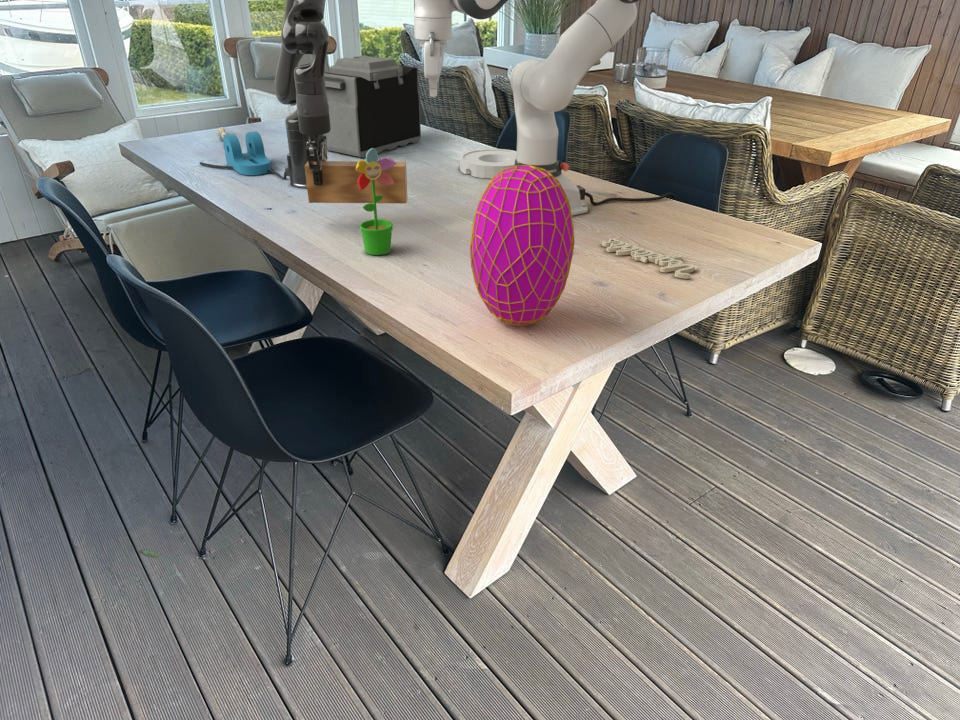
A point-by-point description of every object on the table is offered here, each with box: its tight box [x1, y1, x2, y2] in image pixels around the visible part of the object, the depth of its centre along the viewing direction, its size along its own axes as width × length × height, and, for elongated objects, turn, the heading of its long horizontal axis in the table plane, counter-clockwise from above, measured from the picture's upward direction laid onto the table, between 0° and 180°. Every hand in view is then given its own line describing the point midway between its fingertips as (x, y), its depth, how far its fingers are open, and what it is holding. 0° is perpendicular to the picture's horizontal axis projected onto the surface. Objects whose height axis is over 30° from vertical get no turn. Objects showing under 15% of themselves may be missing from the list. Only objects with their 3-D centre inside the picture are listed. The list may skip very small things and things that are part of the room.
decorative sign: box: [601, 237, 696, 280], centre depth 164 cm, size 26×1×10 cm
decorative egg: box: [469, 165, 576, 326], centre depth 128 cm, size 19×19×30 cm
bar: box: [305, 160, 408, 204], centre depth 175 cm, size 25×4×10 cm, turn 91°
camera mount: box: [222, 131, 272, 176], centre depth 226 cm, size 18×10×10 cm, turn 35°
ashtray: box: [459, 148, 517, 180], centre depth 231 cm, size 23×23×4 cm
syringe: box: [218, 127, 229, 142], centre depth 264 cm, size 25×4×3 cm, turn 21°
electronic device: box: [323, 55, 422, 159], centre depth 250 cm, size 37×22×30 cm, turn 144°
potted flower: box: [356, 148, 397, 256], centre depth 160 cm, size 9×8×25 cm
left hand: (320, 181), depth 175 cm, fingers closed on bar, 4 cm apart
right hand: (434, 92), depth 168 cm, fingers open, 8 cm apart
